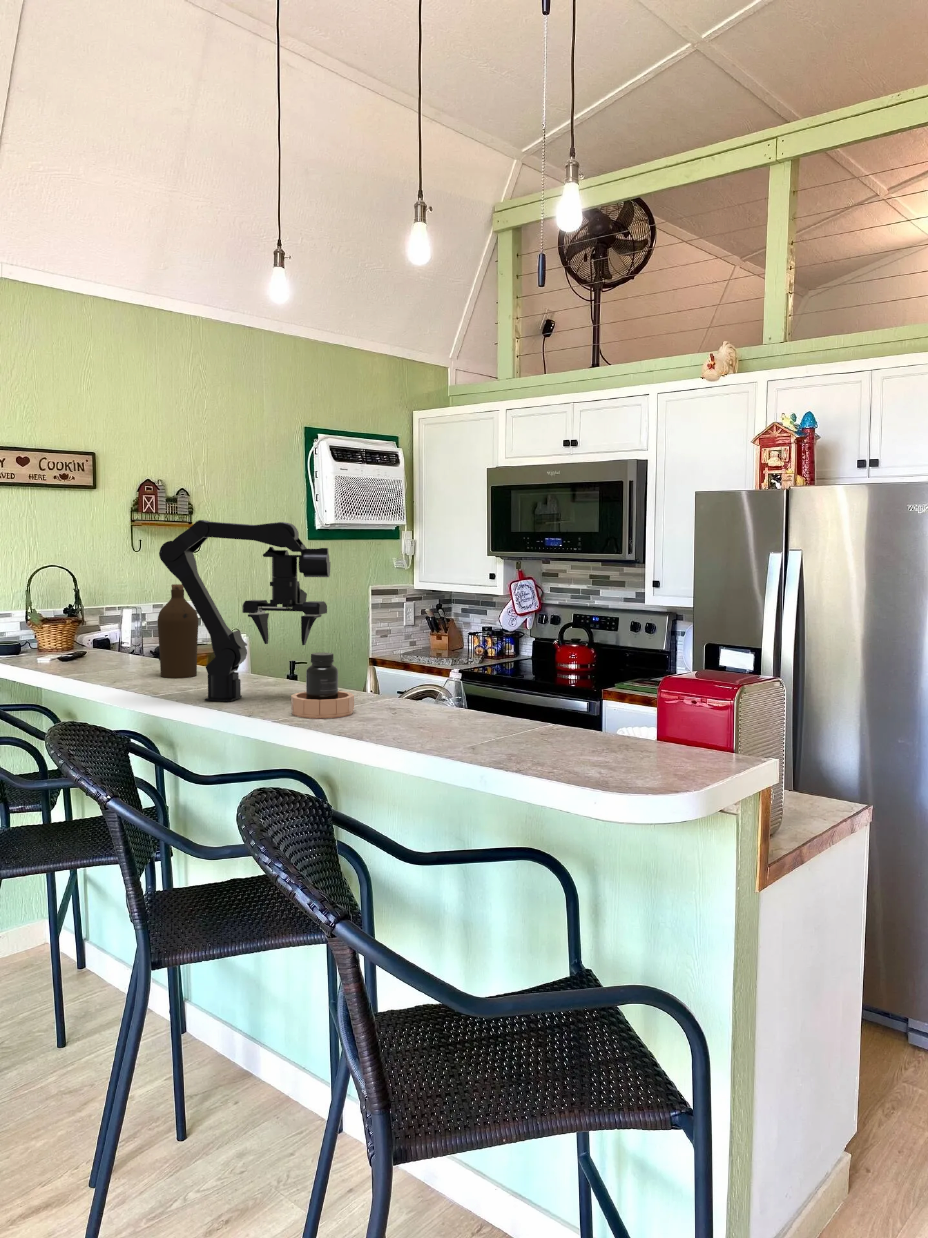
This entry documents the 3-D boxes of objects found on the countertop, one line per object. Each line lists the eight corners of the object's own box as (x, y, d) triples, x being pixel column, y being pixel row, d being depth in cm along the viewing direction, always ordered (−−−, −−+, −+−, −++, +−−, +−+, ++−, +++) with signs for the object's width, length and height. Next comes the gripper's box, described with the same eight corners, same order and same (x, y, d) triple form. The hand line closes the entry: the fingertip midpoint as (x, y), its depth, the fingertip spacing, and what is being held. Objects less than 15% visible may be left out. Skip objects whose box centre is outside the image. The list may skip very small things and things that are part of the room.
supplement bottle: (300, 708, 195) (300, 652, 194) (328, 705, 199) (328, 651, 198) (315, 712, 189) (315, 656, 188) (344, 709, 194) (344, 654, 193)
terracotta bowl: (282, 716, 189) (282, 698, 189) (305, 706, 202) (305, 689, 201) (341, 719, 186) (341, 701, 186) (360, 709, 199) (360, 691, 199)
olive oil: (207, 674, 249) (205, 584, 247) (182, 679, 239) (181, 585, 237) (175, 672, 253) (173, 583, 251) (149, 677, 243) (148, 584, 241)
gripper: (335, 576, 213) (335, 642, 214) (261, 575, 217) (261, 639, 218) (318, 578, 202) (318, 647, 204) (241, 576, 206) (241, 644, 207)
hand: (285, 644), depth 208 cm, fingers open, 9 cm apart
